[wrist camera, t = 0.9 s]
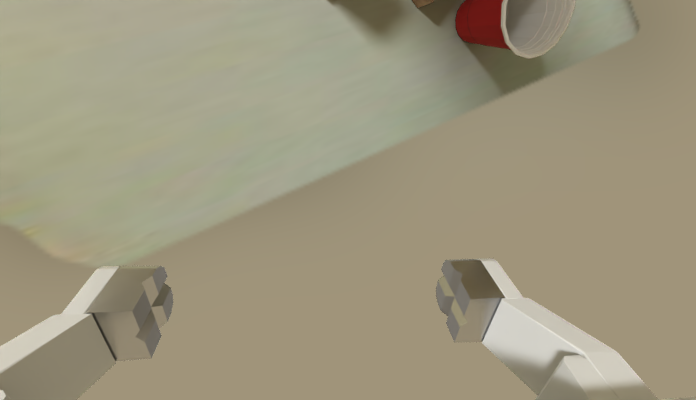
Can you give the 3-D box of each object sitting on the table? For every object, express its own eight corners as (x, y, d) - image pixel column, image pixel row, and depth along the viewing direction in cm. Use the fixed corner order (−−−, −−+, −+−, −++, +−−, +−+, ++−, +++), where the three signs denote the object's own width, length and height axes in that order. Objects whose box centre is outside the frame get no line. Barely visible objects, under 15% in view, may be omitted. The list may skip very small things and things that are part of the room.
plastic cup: (436, 62, 48) (499, 58, 37) (442, -25, 44) (515, -58, 33) (495, 62, 51) (567, 58, 41) (505, -19, 47) (588, -47, 37)
